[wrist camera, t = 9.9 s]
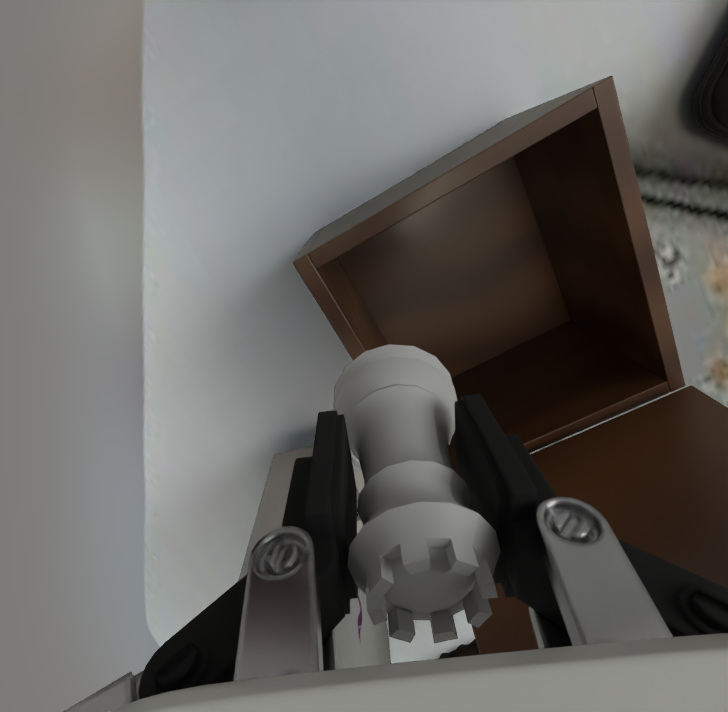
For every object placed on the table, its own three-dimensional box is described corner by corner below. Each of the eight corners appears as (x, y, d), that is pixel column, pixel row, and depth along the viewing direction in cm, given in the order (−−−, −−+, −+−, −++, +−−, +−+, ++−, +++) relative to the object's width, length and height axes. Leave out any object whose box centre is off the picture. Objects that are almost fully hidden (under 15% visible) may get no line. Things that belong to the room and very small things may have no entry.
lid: (604, 1102, 8) (657, 1105, 10) (1639, 976, 5) (1391, 1019, 8) (435, 495, 23) (473, 554, 25) (691, 384, 20) (706, 462, 23)
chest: (313, 233, 27) (291, 262, 18) (509, 117, 25) (613, 74, 15) (411, 400, 33) (436, 493, 23) (578, 320, 31) (685, 386, 21)
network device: (405, 604, 44) (445, 905, 26) (330, 618, 44) (317, 922, 26) (346, 417, 34) (341, 697, 15) (250, 439, 34) (134, 734, 16)
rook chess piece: (385, 314, 13) (424, 476, 6) (476, 384, 15) (598, 587, 7) (309, 402, 15) (268, 619, 8) (398, 459, 16) (437, 693, 9)
